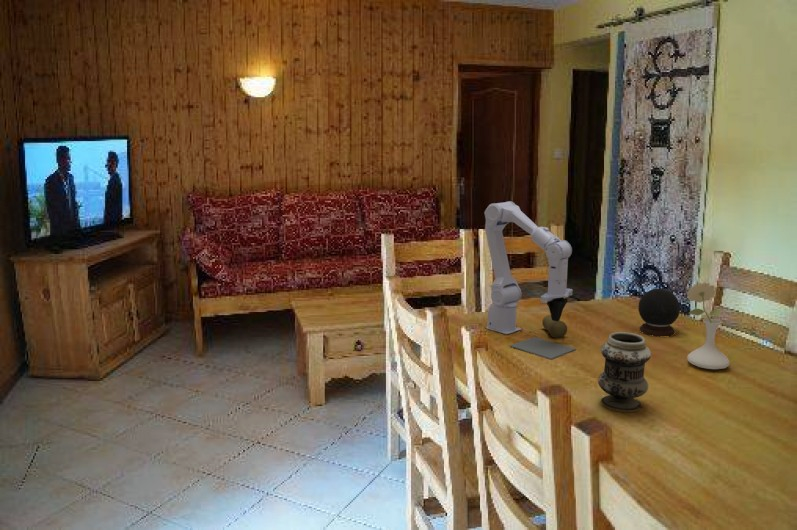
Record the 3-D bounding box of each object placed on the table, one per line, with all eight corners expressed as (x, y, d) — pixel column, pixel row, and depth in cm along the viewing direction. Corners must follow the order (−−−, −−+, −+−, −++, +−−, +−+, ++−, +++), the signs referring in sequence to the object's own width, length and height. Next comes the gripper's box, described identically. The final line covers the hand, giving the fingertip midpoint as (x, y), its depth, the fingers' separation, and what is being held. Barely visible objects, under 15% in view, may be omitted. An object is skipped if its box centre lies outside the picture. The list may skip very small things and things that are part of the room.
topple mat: (509, 346, 209) (509, 345, 209) (534, 337, 218) (534, 336, 218) (551, 359, 198) (551, 358, 197) (575, 349, 206) (575, 348, 206)
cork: (568, 336, 217) (557, 328, 228) (566, 319, 216) (555, 311, 227) (550, 340, 217) (541, 331, 228) (548, 322, 216) (538, 314, 227)
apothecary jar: (640, 418, 158) (646, 347, 154) (590, 407, 164) (595, 339, 160) (651, 401, 168) (656, 334, 164) (603, 391, 174) (608, 326, 170)
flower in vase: (728, 362, 195) (737, 280, 190) (729, 375, 185) (739, 289, 180) (681, 356, 200) (688, 276, 195) (679, 368, 190) (687, 285, 185)
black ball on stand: (681, 329, 226) (684, 287, 223) (673, 340, 215) (677, 296, 212) (641, 323, 233) (644, 282, 230) (632, 333, 222) (635, 290, 219)
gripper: (554, 285, 200) (552, 327, 202) (581, 277, 209) (579, 318, 212) (535, 281, 205) (534, 322, 208) (562, 274, 214) (560, 314, 217)
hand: (555, 320), depth 210 cm, fingers closed
